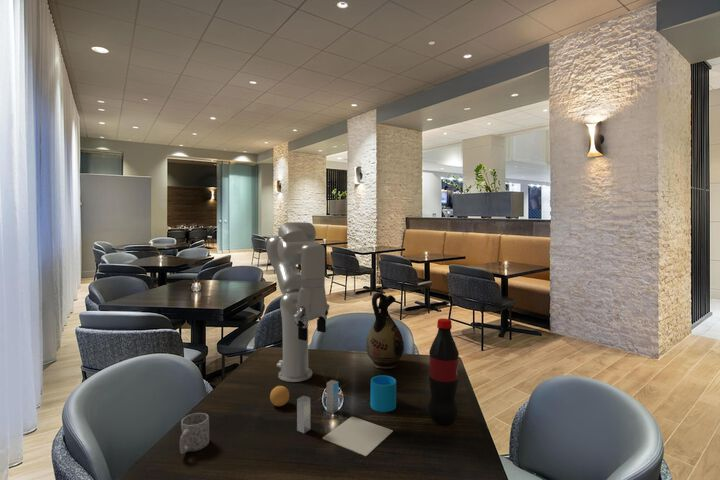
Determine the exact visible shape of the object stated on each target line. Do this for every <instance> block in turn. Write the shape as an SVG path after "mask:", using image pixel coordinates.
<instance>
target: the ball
mask: <svg viewBox="0 0 720 480" xmlns="http://www.w3.org/2000/svg"><path fill="white" fill-rule="evenodd" d="M269 399H270V402H271V404H272V405H274V406H276V407H282V406H285V405H286V404H287V403H288V401H289V399H290V392H289V389H288V388H287V387H285V386H284V385H277V386H275V387H273V388H272V389H271V391H270V394H269Z"/></svg>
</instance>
